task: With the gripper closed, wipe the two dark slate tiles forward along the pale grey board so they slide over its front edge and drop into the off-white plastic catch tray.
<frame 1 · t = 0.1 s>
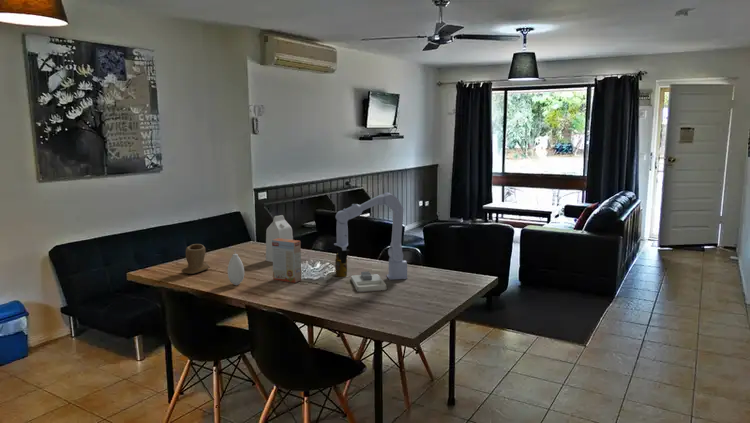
hand: (342, 261, 272), 10 cm above the table, fingers open, 7 cm apart
board: (366, 281, 272), on the table
tile rear: (365, 276, 274), point 2 cm above the table, touching board
tile front: (367, 279, 269), point 2 cm above the table, touching board
catch tray: (370, 288, 261), on the table
cracker box: (287, 280, 275), on the table
condiment: (339, 276, 282), on the table
white vase: (236, 284, 267), on the table
milk: (280, 260, 315), on the table
stone cup: (197, 272, 290), on the table
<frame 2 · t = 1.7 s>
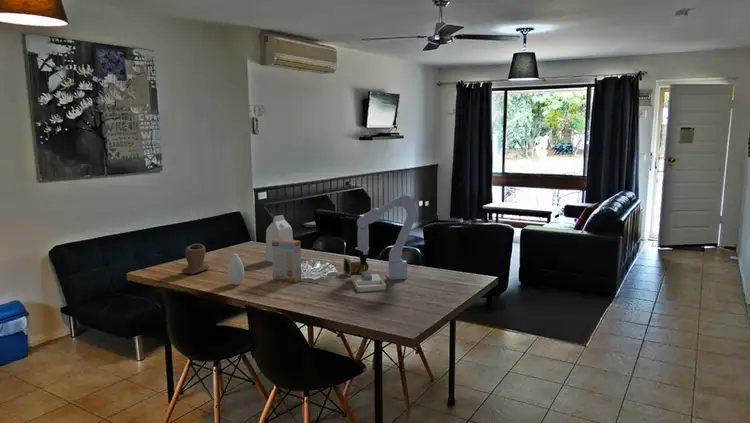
hand: (363, 264, 280), 6 cm above the table, fingers closed
condiment: (346, 267, 283), point 4 cm above the table
everything else where it was.
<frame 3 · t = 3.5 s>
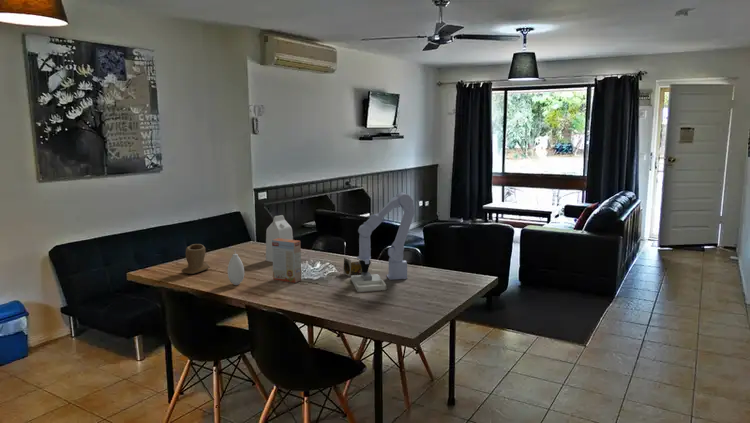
hand: (364, 274, 276), 3 cm above the table, fingers closed
tile rear: (365, 277, 273), point 2 cm above the table, touching board, gripper, tile front
tile front: (367, 279, 269), point 2 cm above the table, touching board, tile rear
everything else where it was.
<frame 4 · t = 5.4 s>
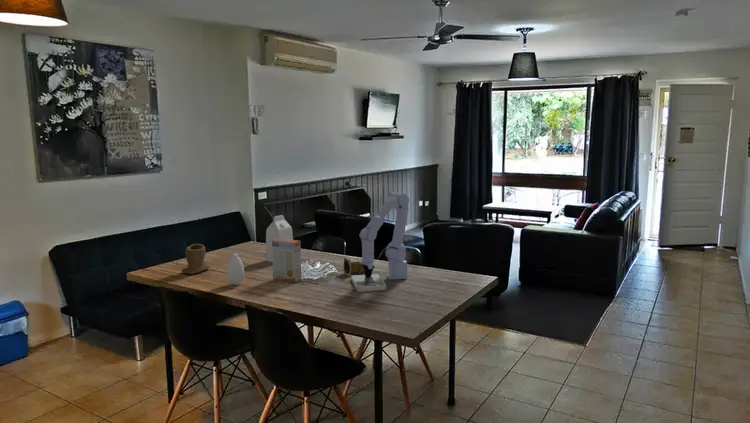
hand: (368, 279, 267), 3 cm above the table, fingers closed
tile rear: (369, 282, 264), point 1 cm above the table, tilted 17°, touching board, gripper, tile front
tile front: (370, 287, 260), resting on catch tray, touching tile rear
everything else where it was.
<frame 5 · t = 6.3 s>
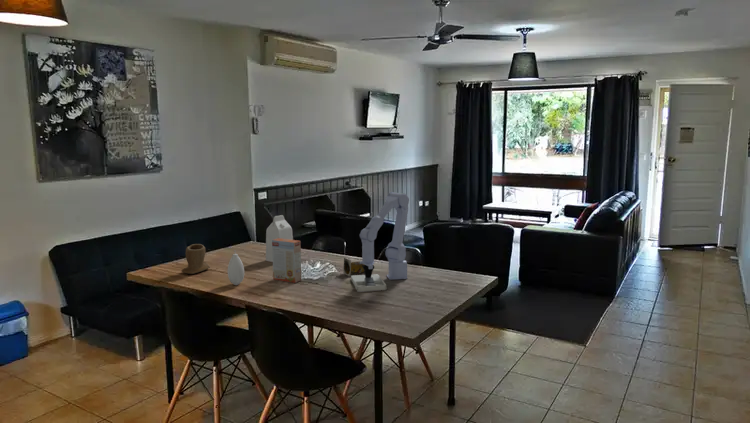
hand: (368, 279, 266), 3 cm above the table, fingers closed
nothing on the table moved.
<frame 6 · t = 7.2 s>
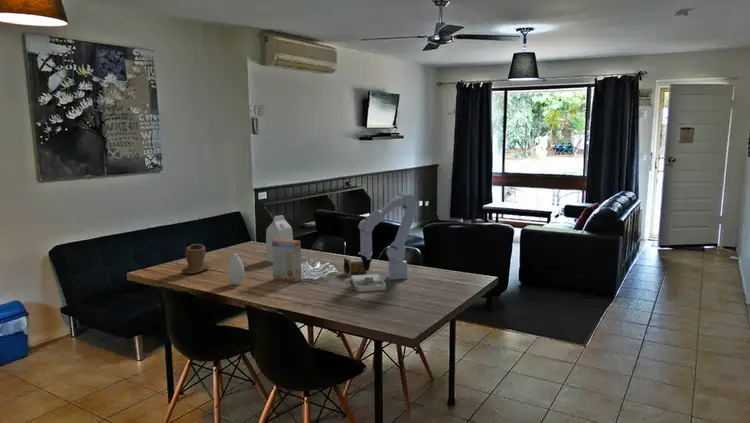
hand: (366, 270, 271), 6 cm above the table, fingers closed
tile rear: (369, 283, 264), point 1 cm above the table, tilted 17°, touching board, tile front
everything else where it was.
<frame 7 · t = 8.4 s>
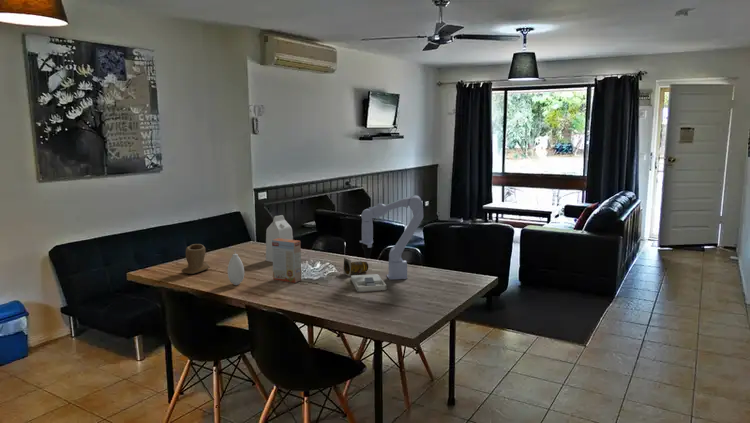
hand: (367, 258, 279), 10 cm above the table, fingers closed
nothing on the table moved.
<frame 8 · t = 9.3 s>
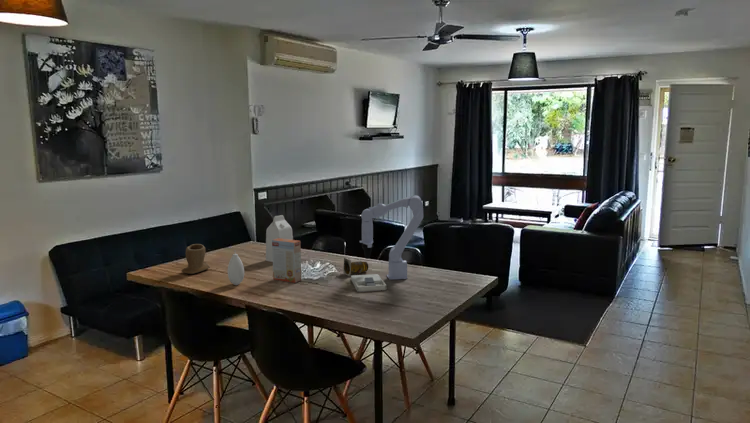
hand: (367, 258, 279), 10 cm above the table, fingers closed
nothing on the table moved.
at the end: tile rear inside the target area (3.9 cm from its centre), point 1.4 cm above the table; tile front inside the target area (0.5 cm from its centre), resting on catch tray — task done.
